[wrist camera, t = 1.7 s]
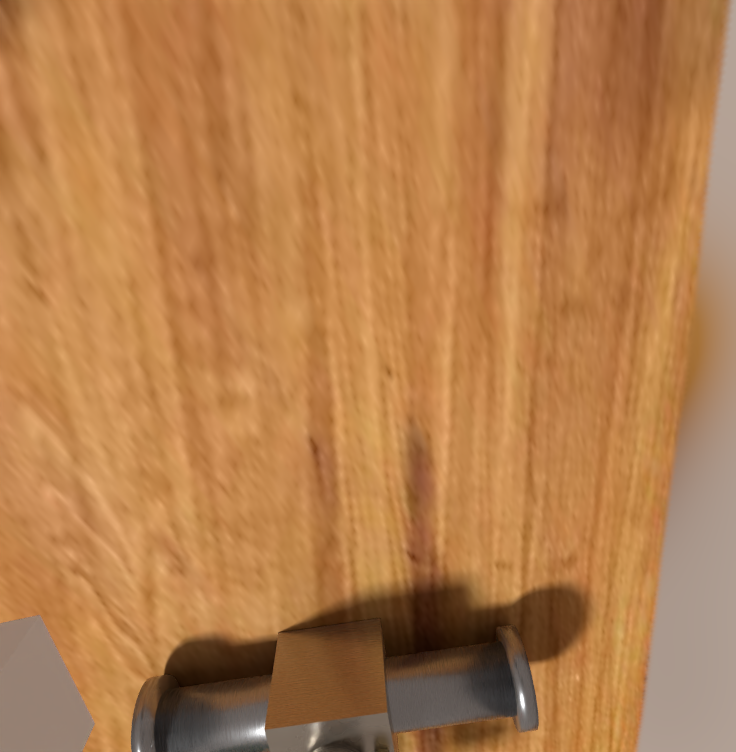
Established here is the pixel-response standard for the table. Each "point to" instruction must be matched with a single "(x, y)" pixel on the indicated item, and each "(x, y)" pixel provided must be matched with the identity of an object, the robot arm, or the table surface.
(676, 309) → the table surface
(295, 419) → the table surface
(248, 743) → the valve body
